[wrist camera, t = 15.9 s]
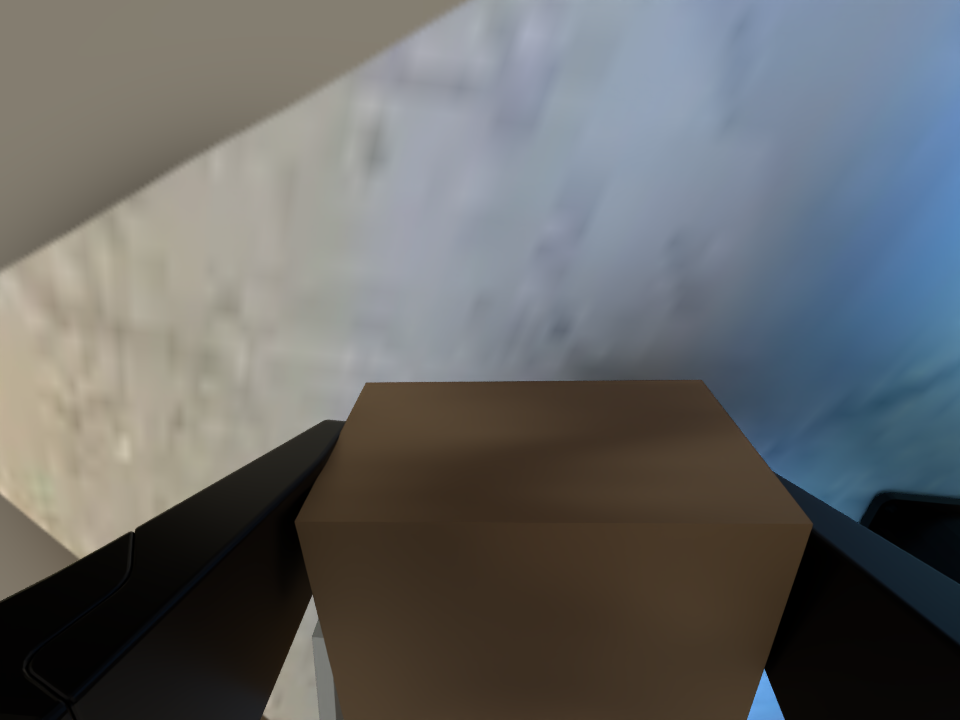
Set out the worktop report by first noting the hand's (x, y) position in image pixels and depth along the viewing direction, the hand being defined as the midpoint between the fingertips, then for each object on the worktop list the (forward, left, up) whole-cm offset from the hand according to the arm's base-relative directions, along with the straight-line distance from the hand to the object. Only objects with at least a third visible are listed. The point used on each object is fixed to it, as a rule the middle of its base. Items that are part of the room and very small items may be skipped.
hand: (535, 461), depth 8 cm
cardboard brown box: (0, +1, -1) cm, 1 cm away
